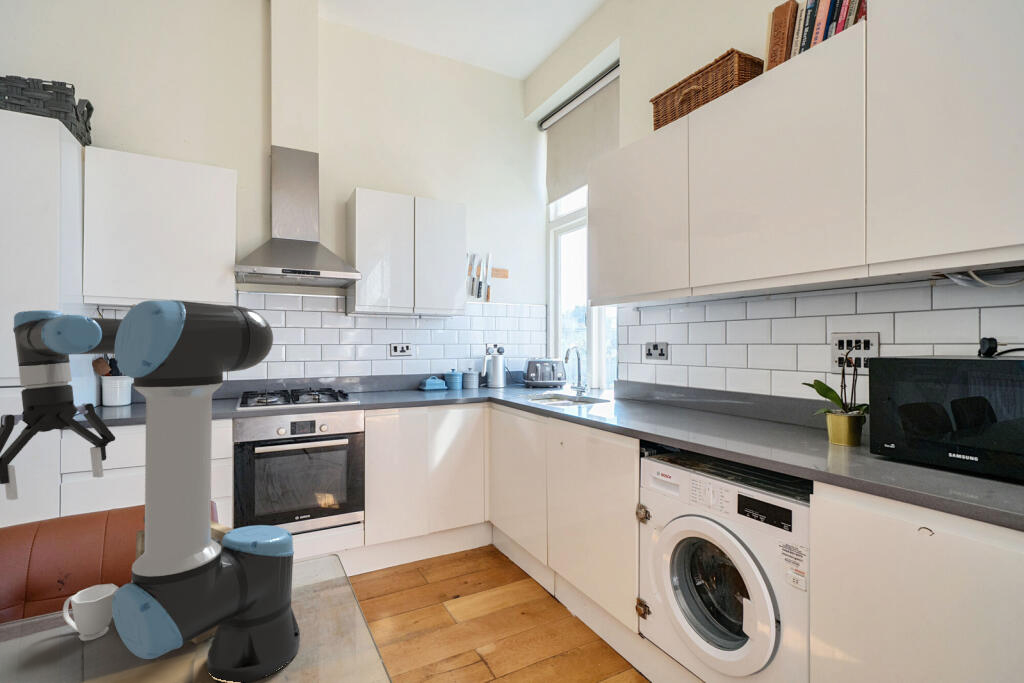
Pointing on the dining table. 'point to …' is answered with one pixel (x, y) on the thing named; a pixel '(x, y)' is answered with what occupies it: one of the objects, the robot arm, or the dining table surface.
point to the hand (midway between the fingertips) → (58, 487)
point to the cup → (91, 611)
